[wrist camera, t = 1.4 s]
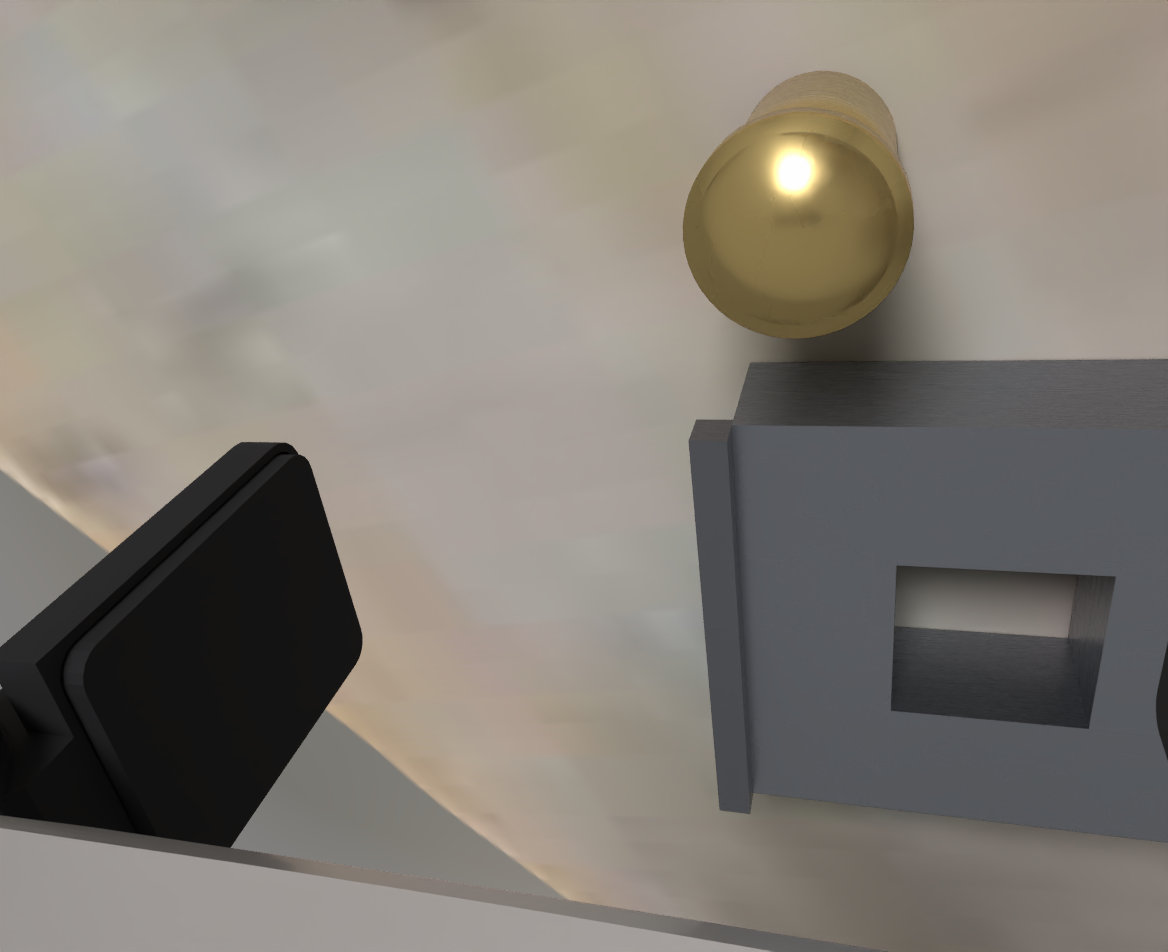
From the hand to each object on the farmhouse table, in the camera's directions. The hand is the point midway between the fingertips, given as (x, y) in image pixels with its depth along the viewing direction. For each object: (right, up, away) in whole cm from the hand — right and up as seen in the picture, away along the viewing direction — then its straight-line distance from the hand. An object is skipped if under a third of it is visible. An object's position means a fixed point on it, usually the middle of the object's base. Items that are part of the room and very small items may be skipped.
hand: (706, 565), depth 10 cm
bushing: (+5, +9, +15) cm, 18 cm away
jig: (+11, -2, +20) cm, 23 cm away
